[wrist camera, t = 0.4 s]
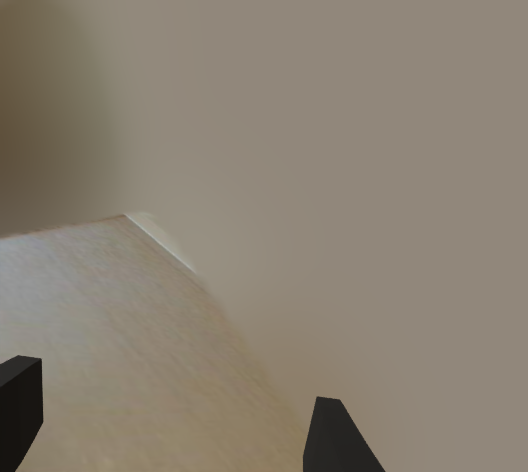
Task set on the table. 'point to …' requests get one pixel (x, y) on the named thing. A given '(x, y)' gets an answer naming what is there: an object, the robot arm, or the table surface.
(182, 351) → the table surface
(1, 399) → the robot arm
